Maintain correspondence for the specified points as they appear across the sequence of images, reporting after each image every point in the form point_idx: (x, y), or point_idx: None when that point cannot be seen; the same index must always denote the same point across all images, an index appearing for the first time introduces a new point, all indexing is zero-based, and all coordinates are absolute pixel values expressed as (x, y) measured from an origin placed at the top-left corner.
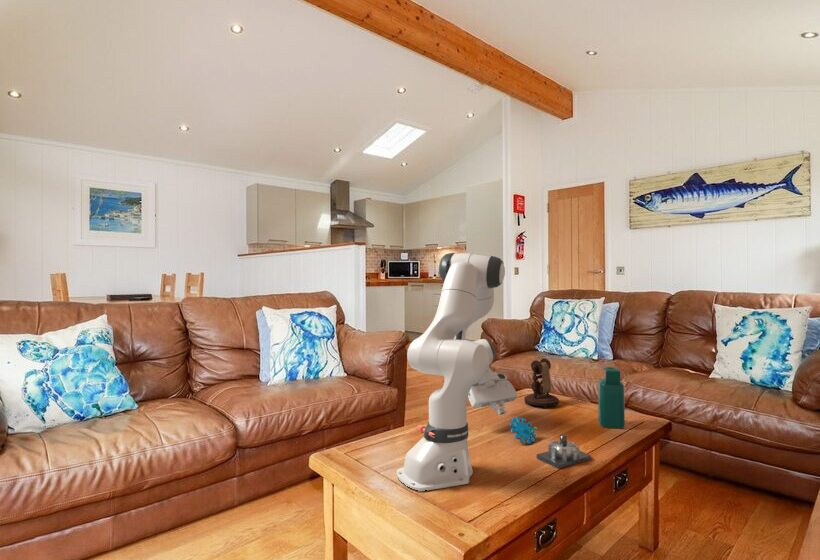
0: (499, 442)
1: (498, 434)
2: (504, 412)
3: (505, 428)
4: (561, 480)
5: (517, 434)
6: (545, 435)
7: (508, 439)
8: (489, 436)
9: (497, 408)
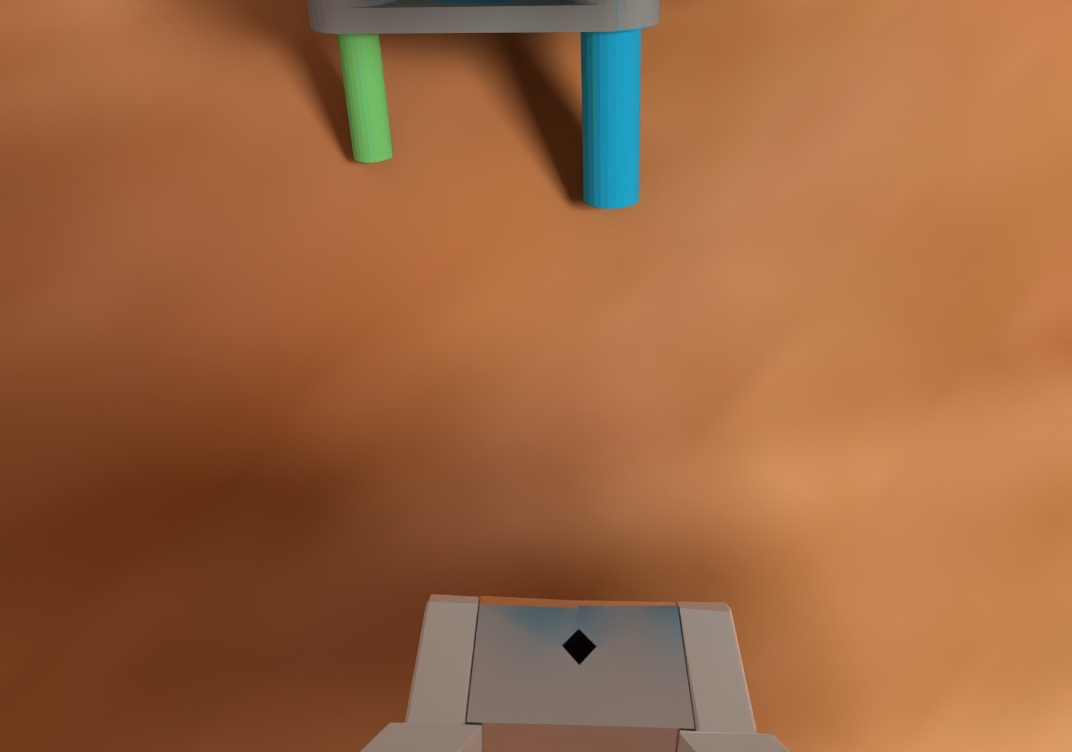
0: (1020, 198)
1: (777, 526)
2: (507, 599)
3: None
4: None
5: (637, 94)
6: (67, 36)
7: (777, 223)
8: (1017, 536)
9: (782, 748)
